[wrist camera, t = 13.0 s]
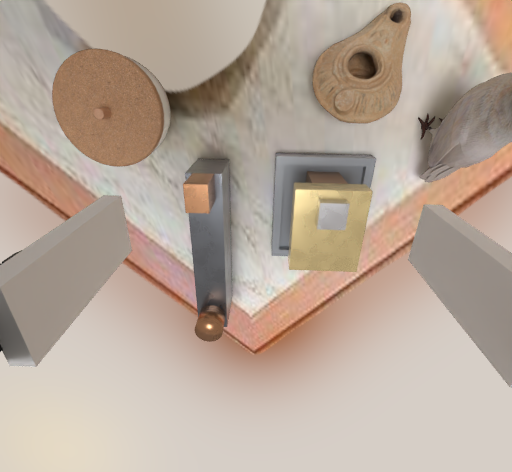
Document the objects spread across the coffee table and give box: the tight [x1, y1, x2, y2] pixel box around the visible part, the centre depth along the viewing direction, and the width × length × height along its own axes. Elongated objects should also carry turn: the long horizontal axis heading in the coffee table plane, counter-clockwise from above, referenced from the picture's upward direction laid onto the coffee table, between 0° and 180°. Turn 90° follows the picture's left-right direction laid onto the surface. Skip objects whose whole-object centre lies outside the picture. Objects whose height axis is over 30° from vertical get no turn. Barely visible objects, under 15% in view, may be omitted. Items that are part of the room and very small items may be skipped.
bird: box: [418, 73, 512, 182], centre depth 29 cm, size 5×14×15 cm, turn 178°
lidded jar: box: [52, 49, 171, 166], centre depth 32 cm, size 11×11×9 cm
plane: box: [183, 159, 232, 341], centre depth 39 cm, size 22×4×11 cm, turn 179°
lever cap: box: [288, 182, 373, 272], centre depth 34 cm, size 10×8×4 cm
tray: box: [272, 153, 376, 256], centre depth 38 cm, size 14×12×6 cm
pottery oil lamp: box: [313, 3, 411, 123], centre depth 30 cm, size 9×12×7 cm
